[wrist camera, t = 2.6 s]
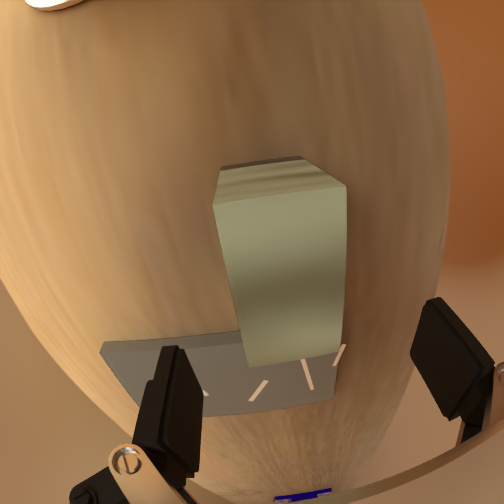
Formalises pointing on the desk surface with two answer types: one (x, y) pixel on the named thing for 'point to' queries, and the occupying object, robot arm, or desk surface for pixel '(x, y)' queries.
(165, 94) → the desk surface
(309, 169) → the block
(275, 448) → the desk surface
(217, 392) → the board
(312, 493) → the mounting bracket
